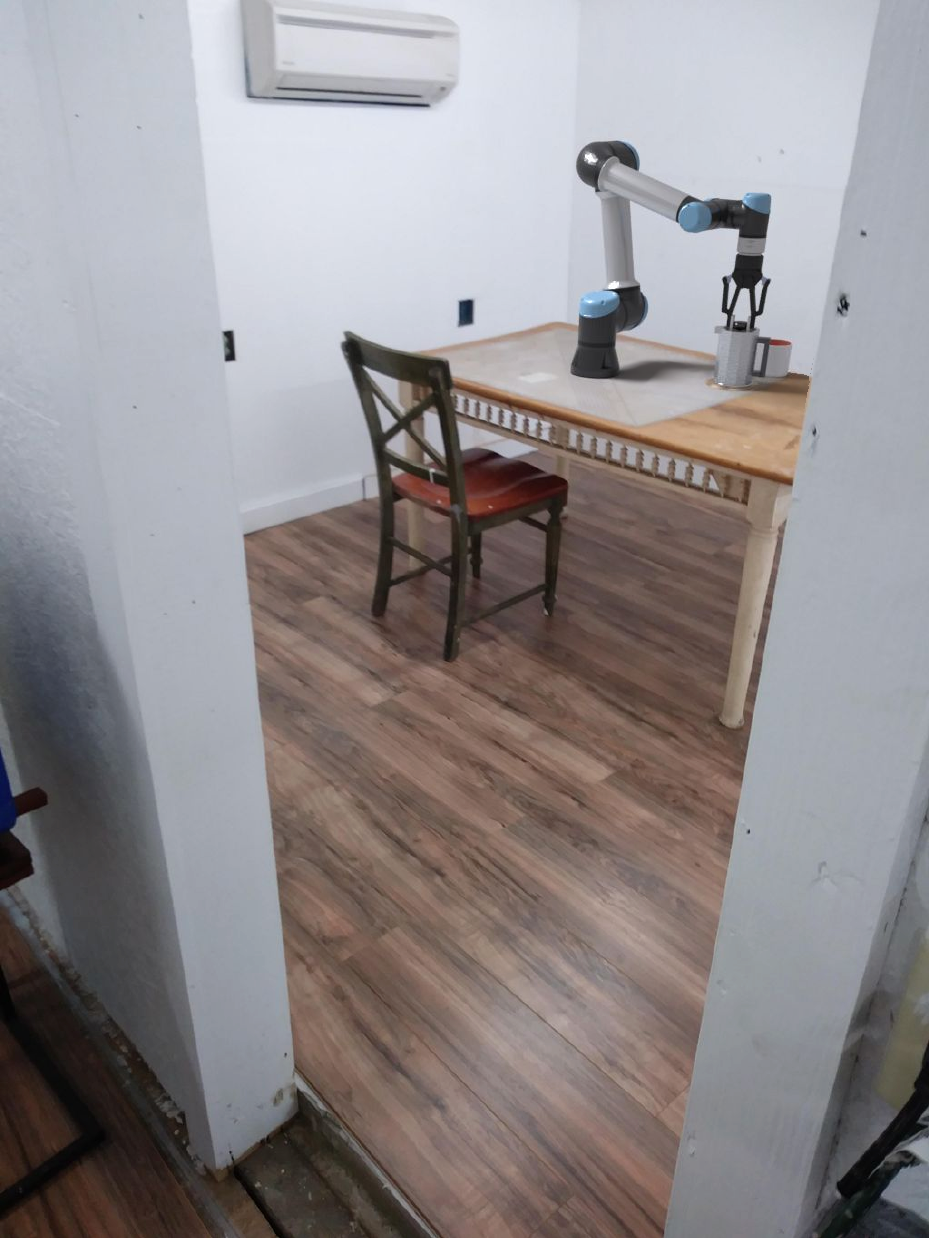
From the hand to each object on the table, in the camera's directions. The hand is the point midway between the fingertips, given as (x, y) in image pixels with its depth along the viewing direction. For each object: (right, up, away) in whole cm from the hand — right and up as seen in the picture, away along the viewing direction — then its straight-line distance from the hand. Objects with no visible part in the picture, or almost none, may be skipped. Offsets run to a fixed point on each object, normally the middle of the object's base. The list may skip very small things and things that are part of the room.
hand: (738, 339), depth 278 cm
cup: (+15, -6, +18) cm, 24 cm away
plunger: (0, -5, +3) cm, 6 cm away
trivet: (0, -12, +6) cm, 14 cm away
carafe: (0, -11, +6) cm, 13 cm away
